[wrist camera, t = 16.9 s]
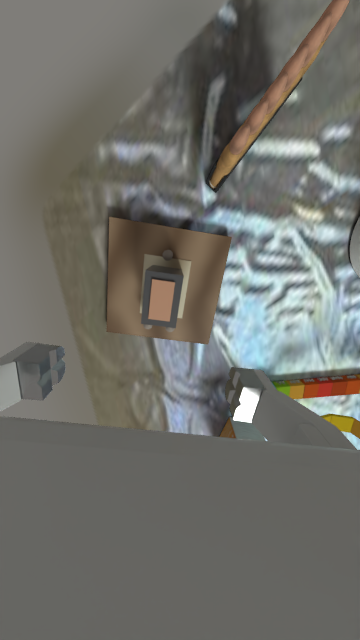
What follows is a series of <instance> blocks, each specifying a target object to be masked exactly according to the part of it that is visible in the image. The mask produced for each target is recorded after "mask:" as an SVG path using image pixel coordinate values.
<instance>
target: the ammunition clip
mask: <svg viewBox="0 0 360 640" xmlns="http://www.w3.org/2000/svg"><path fill="white" fill-rule="evenodd" d="M349 1H350V0H333V1H332V2H331V3H330V5H329V6H328V7H327V9H326V10H325V11H324V13H323V14H322V16H321V17H320V19H319V21H318V22H317V23H316V24H315V26H314V27H313V28H312V29H311V31H310V32H309V33H308V35H307V36H306V38H305V39H304V40H303V41H302V43H301V44H300V46H299V47H298V49H297V50H296V52H295V53H294V55H293V56H292V57H291V58H290V60H289V61H288V62H287V63H286V65H285V66H284V67H283V69H282V71H281V72H280V74H279V75H278V77H277V78H276V80H275V81H274V82H273V83H272V84H271V85H270V87H269V88H268V89H267V91H266V93H265V94H264V96H263V97H262V99H261V100H260V102H259V103H258V104H257V105H256V106H255V107H254V109H253V110H252V112H251V113H250V114H249V116H248V118H247V119H246V120H245V122H244V124H243V125H242V126H241V127H240V128H239V129H238V131H237V132H236V134H235V135H234V136H233V138H232V140H231V141H230V143H229V144H228V145H227V146H226V147H225V149H224V150H223V152H222V154H221V156H220V157H219V158H218V160H217V161H216V163H215V164H214V166H213V168H212V170H211V172H210V174H209V176H208V178H207V180H206V184H207V185H208V186H209V187H210V188H211V189H212V190H213V191H214V192H215V193H216V192H217V191H218V190H219V188H220V187H221V186H222V184H223V183H224V182H225V180H226V179H227V178H228V177H229V175H230V174H231V173H232V171H233V170H234V169H235V167H236V166H237V165H238V163H239V162H240V161H241V160H242V158H243V157H244V156H245V154H246V153H247V152H248V150H249V149H250V148H251V146H252V145H253V144H254V142H255V141H256V140H257V139H258V137H259V136H260V135H261V133H262V132H263V131H264V129H265V128H266V127H267V125H268V124H269V123H270V121H271V120H272V119H273V118H274V116H275V115H276V114H277V112H278V111H279V110H280V108H281V107H282V106H283V104H284V103H285V102H286V100H287V99H288V98H289V96H290V95H291V94H292V92H293V91H294V90H295V88H296V87H297V85H298V84H299V83H300V81H301V80H302V76H303V75H304V74H305V72H306V71H307V70H308V68H309V67H310V65H311V64H312V63H313V61H314V60H315V58H316V57H317V55H318V53H319V51H320V49H321V47H322V46H323V44H324V43H325V41H326V40H327V38H328V36H329V34H330V33H331V32H332V30H333V29H334V27H335V26H336V24H337V23H338V21H339V19H340V18H341V16H342V14H343V13H344V11H345V9H346V7H347V5H348V3H349Z"/></svg>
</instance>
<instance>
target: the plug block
mask: <svg viewBox="0 0 360 640" xmlns="http://www.w3.org/2000/svg"><path fill="white" fill-rule="evenodd" d="M183 277H184V275H183V272H182V269H177V268H170V267H164V266H157V265H152V266H151V267H149V268H148V269H146V270H145V282H144V293H143V305H142V316H141V324H147V325H155V326H163V327H170V328H176V323H177V317H178V310H179V303H180V297H181V290H182V284H183Z"/></svg>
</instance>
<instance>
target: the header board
mask: <svg viewBox="0 0 360 640" xmlns="http://www.w3.org/2000/svg"><path fill="white" fill-rule="evenodd" d="M231 238H232V237H228V236H222V235H216V234H210V233H204V232H198V231H192V230H186V229H180V228H174V227H168V226H162V225H156V224H150V223H144V222H138V221H132V220H126V219H120V218H114V217H109V250H108V294H107V332H113V333H121V334H129V335H137V336H145V337H153V338H161V339H169V340H177V341H185V342H193V343H201V344H208V343H209V338H210V333H211V329H212V324H213V320H214V315H215V311H216V306H217V302H218V297H219V293H220V288H221V284H222V279H223V275H224V270H225V266H226V261H227V256H228V252H229V247H230V243H231ZM152 265H157V266H164V267H170V268H177V269H182V272H183V275H184V277H183V284H182V290H181V297H180V303H179V310H178V317H177V323H176V328H170V327H163V326H155V325H147V324H141V316H142V305H143V293H144V282H145V270H146V269H148V268H149V267H151V266H152Z"/></svg>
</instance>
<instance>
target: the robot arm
mask: <svg viewBox="0 0 360 640" xmlns="http://www.w3.org/2000/svg"><path fill="white" fill-rule="evenodd" d="M350 259H351V263H352V266H353V269H354V271H355V272H356V274H357V275H358V276H359V278H360V217H359V219H358V221H357V223H356V225H355V228H354V230H353V233H352V237H351V242H350ZM64 355H65V353H64V348H63V347H62V346H54V345H48V344H40V343H32V342H26V343H24V344H22V345H21V346H19V347H18V348H16V349H14V350H13V351H11V352H9V353H8V354H6V355H4V356H3V357H1V358H0V411H2V410H4V409H5V408H8V407H9V406H11V405H13V404H15V403H17V402H18V401H20V400H21V399H31V400H44V399H45V398H46V396H47V395H48V394H49V393H50V392H51V391H52V386H53V385H55V384H57V383H59V382H60V380H61V379H62V377H63V375H64V373H65V362H64V361H63V360H62V358H63V356H64ZM229 376H230V378H231V379H230V380H228V381H227V383H226V387H225V395H226V400H227V402H228V403H230V404H231V405H230V408H229V409H230V412H231V414H232V417H233V420H239V421H246V422H252V424H253V425H254V426H255V427H256V429H257V430H258V431H259V432H260V433H261V434H262V435H263V436H264V437H265V438H266V439H267V440H268V441H258V440H248V439H237V438H227V437H216V436H205V435H195V434H184V433H174V432H163V431H152V430H142V429H131V428H121V427H110V426H99V425H89V424H78V423H68V422H57V421H47V420H36V419H26V418H15V417H5V416H0V640H360V450H357V449H356V448H355V447H354V446H353V445H352V443H351V442H350V441H349V440H348V439H347V438H346V437H345V436H344V435H343V433H342V432H341V431H340V430H339V429H338V428H337V427H336V426H335V425H333V424H331V423H330V422H328V421H327V420H325V419H324V418H322V417H320V416H319V415H317V414H316V413H314V412H312V411H311V410H309V409H308V408H306V407H305V406H303V405H301V404H300V403H298V402H297V401H295V400H293V399H292V398H290V397H289V396H287V395H286V394H284V393H282V392H280V391H277V389H276V388H275V387H274V385H273V384H272V382H271V381H270V380H269V378H268V377H267V376H266V374H265V373H264V371H262V370H256V369H245V368H234V367H232V368H231V370H230V372H229Z"/></svg>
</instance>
